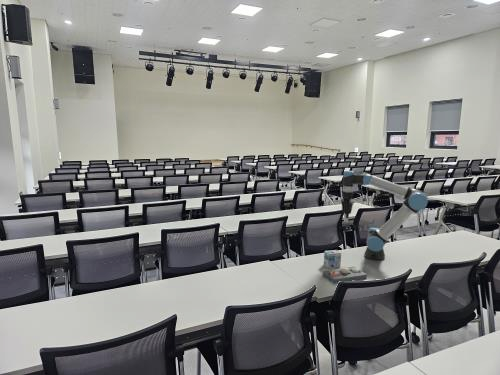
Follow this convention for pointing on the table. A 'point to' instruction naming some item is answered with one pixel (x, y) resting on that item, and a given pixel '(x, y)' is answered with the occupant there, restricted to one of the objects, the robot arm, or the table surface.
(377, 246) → the robot arm
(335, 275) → the button three
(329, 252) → the light bulb box
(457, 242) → the table surface
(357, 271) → the button one
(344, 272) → the button two
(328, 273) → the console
